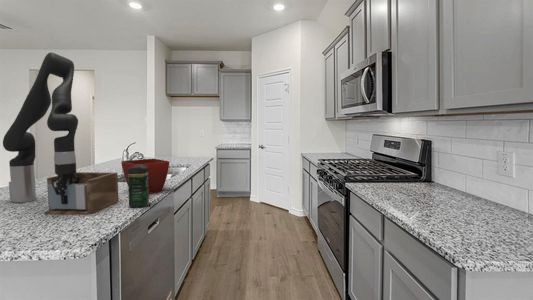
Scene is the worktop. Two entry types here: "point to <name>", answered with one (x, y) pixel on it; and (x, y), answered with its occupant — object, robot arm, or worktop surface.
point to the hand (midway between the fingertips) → (67, 202)
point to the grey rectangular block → (69, 197)
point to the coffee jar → (138, 186)
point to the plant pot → (150, 172)
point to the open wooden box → (92, 192)
